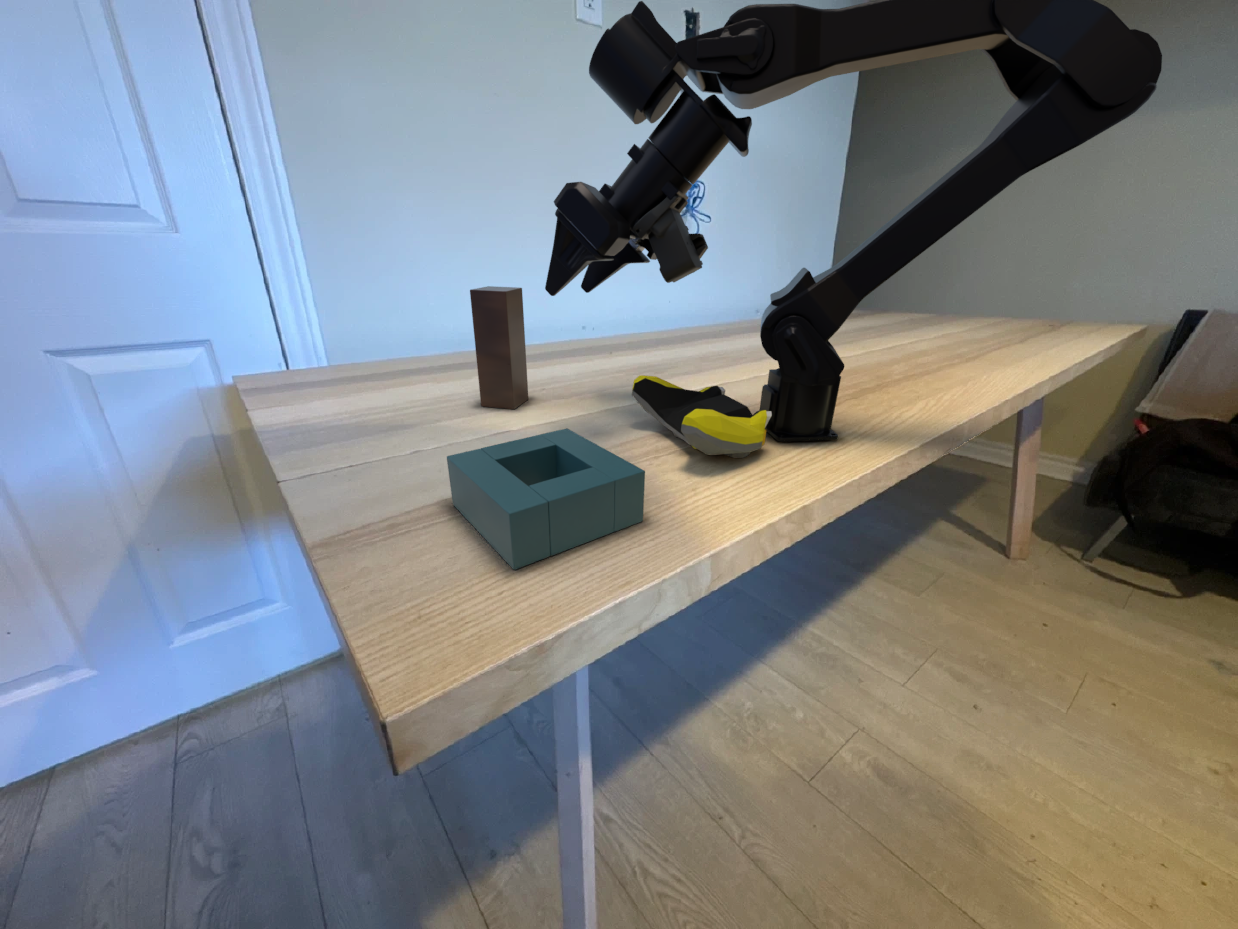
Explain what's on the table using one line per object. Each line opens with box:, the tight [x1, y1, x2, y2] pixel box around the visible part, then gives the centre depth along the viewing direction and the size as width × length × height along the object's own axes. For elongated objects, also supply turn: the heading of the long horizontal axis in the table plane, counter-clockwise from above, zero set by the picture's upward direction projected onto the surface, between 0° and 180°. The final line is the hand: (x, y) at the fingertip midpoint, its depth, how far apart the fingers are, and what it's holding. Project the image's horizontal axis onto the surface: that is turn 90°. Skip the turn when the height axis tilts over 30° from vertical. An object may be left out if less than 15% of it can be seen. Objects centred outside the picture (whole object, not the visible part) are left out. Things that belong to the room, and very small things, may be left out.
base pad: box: [446, 427, 646, 571], centre depth 37 cm, size 10×10×4 cm
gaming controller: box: [631, 374, 772, 459], centre depth 50 cm, size 15×6×10 cm
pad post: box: [469, 285, 529, 410], centre depth 59 cm, size 4×4×13 cm
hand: (567, 291), depth 55 cm, fingers open, 9 cm apart
